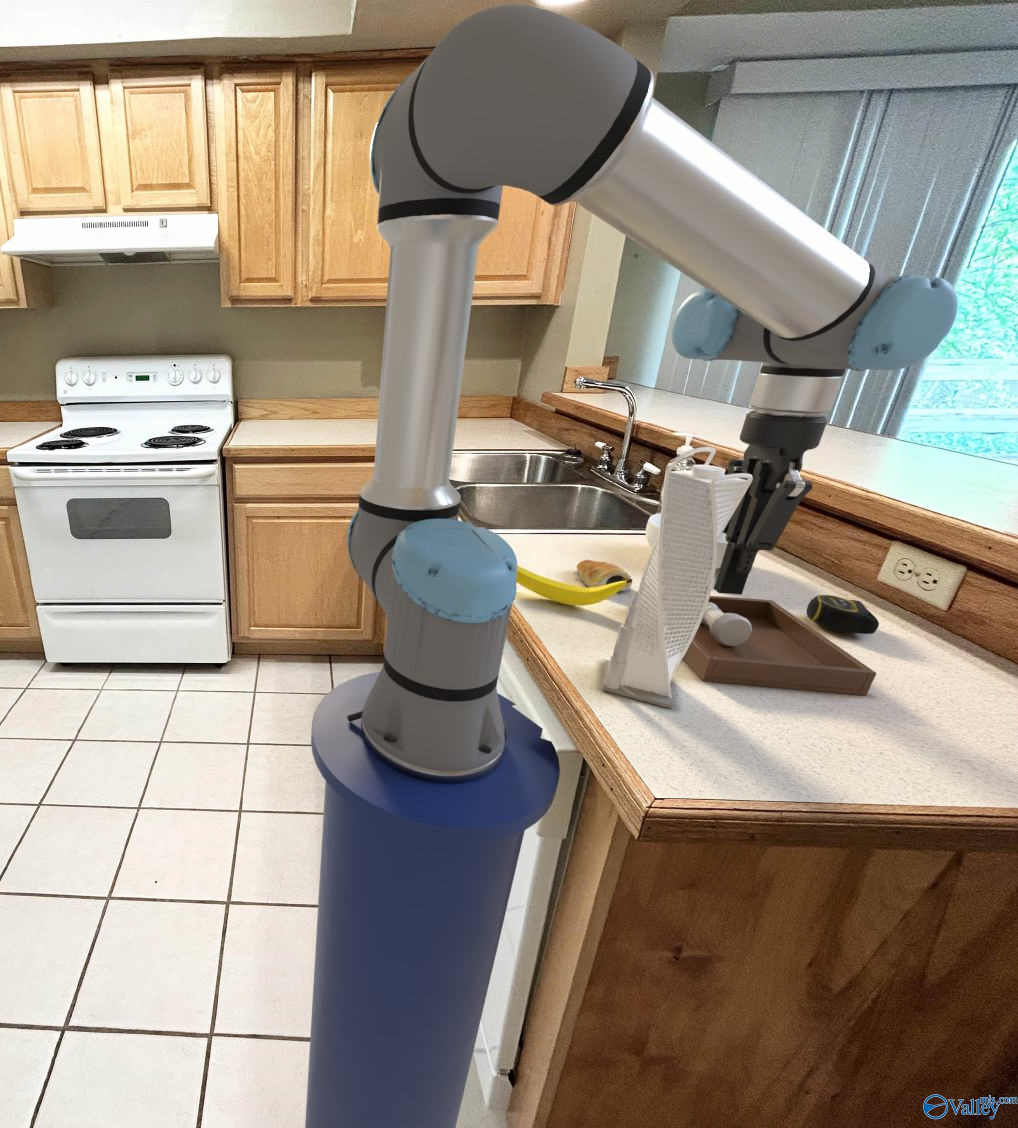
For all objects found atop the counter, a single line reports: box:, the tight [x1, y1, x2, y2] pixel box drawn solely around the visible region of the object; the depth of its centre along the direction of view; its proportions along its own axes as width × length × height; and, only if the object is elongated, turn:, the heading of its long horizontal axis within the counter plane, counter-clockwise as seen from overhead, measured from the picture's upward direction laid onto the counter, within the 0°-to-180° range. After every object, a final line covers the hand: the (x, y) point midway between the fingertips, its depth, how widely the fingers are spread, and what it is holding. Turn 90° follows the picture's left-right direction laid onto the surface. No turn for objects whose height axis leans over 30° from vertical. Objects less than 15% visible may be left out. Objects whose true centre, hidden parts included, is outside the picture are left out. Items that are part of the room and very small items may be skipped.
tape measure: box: [806, 594, 880, 635], centre depth 84 cm, size 7×7×4 cm
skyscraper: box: [601, 446, 753, 709], centre depth 66 cm, size 8×8×28 cm
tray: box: [682, 595, 877, 696], centre depth 79 cm, size 18×20×3 cm
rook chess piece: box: [701, 602, 752, 647], centre depth 81 cm, size 4×4×8 cm
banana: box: [516, 564, 633, 607], centre depth 91 cm, size 3×19×6 cm, turn 52°
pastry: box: [576, 559, 633, 592], centre depth 98 cm, size 9×7×4 cm
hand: (727, 591), depth 79 cm, fingers closed
